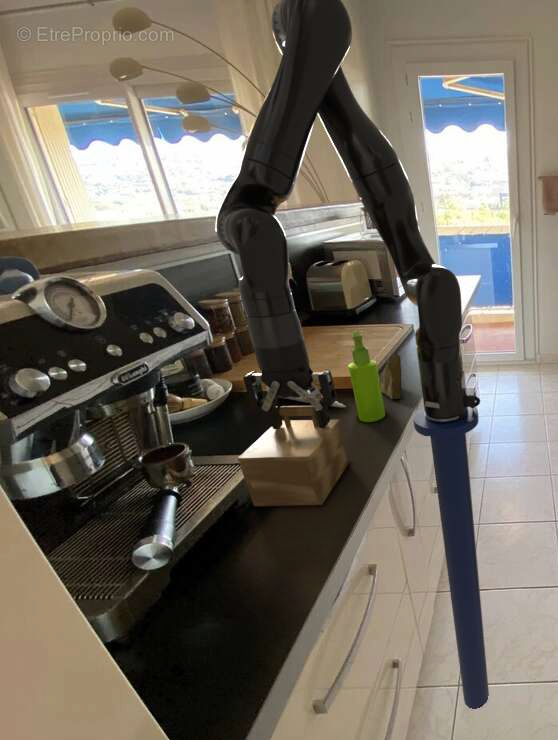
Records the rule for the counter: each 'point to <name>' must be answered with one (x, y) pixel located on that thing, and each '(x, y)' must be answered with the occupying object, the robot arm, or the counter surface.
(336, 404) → the unicorn horn
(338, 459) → the caddy
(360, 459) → the counter surface
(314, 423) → the lid
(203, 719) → the counter surface
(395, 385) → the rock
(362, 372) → the soap dispenser
